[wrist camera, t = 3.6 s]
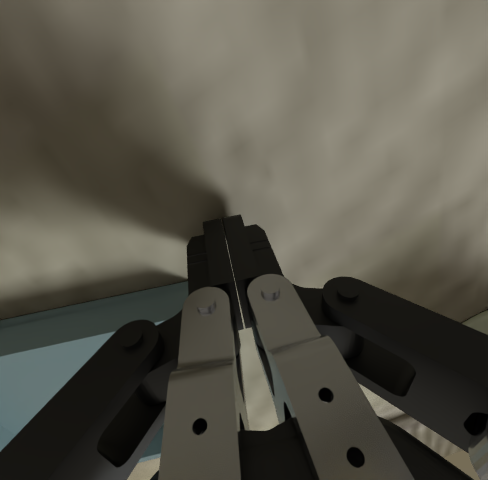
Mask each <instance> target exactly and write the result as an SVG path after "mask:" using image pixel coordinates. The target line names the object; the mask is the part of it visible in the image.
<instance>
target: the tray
mask: <svg viewBox="0 0 488 480" xmlns="http://www.w3.org/2000/svg"><path fill="white" fill-rule="evenodd" d="M187 297H188V281H186V282H181V283H176V284H172V285H167V286H162V287H157V288H152V289H148V290H143V291H138V292H133V293H129V294H124V295H119V296H114V297H110V298H105V299H100V300H95V301H91V302H86V303H81V304H76V305H71V306H67V307H62V308H57V309H52V310H48V311H43V312H38V313H33V314H29V315H24V316H19V317H14V318H9V319H5V320H0V451H1V450H2V449H3V448H4V447H5V446H6V445H7V444H8V443H9V442H10V441H11V440H12V439H13V438H14V437H15V436H16V435H17V434H18V433H19V432H20V431H21V430H22V429H23V427H24V426H25V425H26V424H27V423H28V422H29V421H30V420H31V419H32V418H33V417H34V416H35V415H36V414H37V413H38V412H39V411H40V410H41V409H42V408H43V407H44V406H45V405H46V404H47V402H48V401H49V400H50V399H51V398H52V397H53V396H54V395H55V394H56V393H57V392H58V391H59V390H60V389H61V388H62V387H63V386H64V385H65V384H66V383H67V382H68V381H69V380H70V379H71V377H72V376H73V375H74V374H75V373H76V372H77V371H78V370H79V369H80V368H81V367H82V366H83V365H84V364H85V363H86V362H87V361H88V360H89V359H90V358H91V357H92V356H93V355H94V354H95V353H96V351H97V350H98V349H99V348H100V347H101V346H102V345H103V344H104V343H105V342H106V341H107V340H108V339H109V338H110V337H111V336H112V335H113V334H114V333H115V332H116V331H117V330H118V329H119V328H120V327H122V326H123V325H125V324H127V323H129V322H131V321H135V320H141V319H144V320H149V321H151V322H153V323H154V324H155V325H158V324H160V323H162V322H164V321H166V320H168V319H170V318H172V317H173V316H175V315H176V314H178V313H179V312H180V311H181V310H182V308H183V304H184V301H185V300H186V298H187ZM163 428H164V423H163V424H162V426H161V427H160V429H159V431H158V432H157V434H156V435H155V437H154V438H153V440H152V441H151V443H150V444H149V446H148V448H147V449H146V451H145V452H144V454H143V455H142V457H141V458H140V460H139V461H138V463H139V462H143V461H147V460H151V459H155V458H159V457H161V447H162V438H163Z"/></svg>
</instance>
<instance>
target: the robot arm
mask: <svg viewBox="0 0 488 480" xmlns="http://www.w3.org/2000/svg"><path fill="white" fill-rule="evenodd" d="M223 223H224V229H225V234H226V239H227V244H228V249H227V244H226V240H225V235H224V231H223V226H222V221H221V219H216V220H211V221H205V222H203V229H204V235H200V236H195V237H192V238H191V240H190V241H189V243H188V245H187V264H188V265H187V269H188V297H187V298H186V300H185V301H184V304H183V308H182V310H181V311H180V312H179V313H178V314H176V315H175V316H173V317H172V318H170V319H168V320H166V321H164V322H162V323H160V324H158V325H155V324H154V323H153V322H151V321H149V320H144V319H141V320H135V321H131V322H129V323H127V324H125V325H123V326H122V327H120V328H119V329H118V330H117V331H116V332H115V333H114V334H113V335H112V336H111V337H110V338H109V339H108V340H107V341H106V342H105V343H104V344H103V345H102V346H101V347H100V348H99V349H98V350H97V351H96V353H95V354H94V355H93V356H92V357H91V358H90V359H89V360H88V361H87V362H86V363H85V364H84V365H83V366H82V367H81V368H80V369H79V370H78V371H77V372H76V373H75V374H74V375H73V376H72V377H71V379H70V380H69V381H68V382H67V383H66V384H65V385H64V386H63V387H62V388H61V389H60V390H59V391H58V392H57V393H56V394H55V395H54V396H53V397H52V398H51V399H50V400H49V401H48V402H47V404H46V405H45V406H44V407H43V408H42V409H41V410H40V411H39V412H38V413H37V414H36V415H35V416H34V417H33V418H32V419H31V420H30V421H29V422H28V423H27V424H26V425H25V426H24V427H23V429H22V430H21V431H20V432H19V433H18V434H17V435H16V436H15V437H14V438H13V439H12V440H11V441H10V442H9V443H8V444H7V445H6V446H5V447H4V448H3V449H2V450H1V451H0V480H127V478H128V477H129V475H130V474H131V472H132V471H133V469H134V468H135V466H136V465H137V463H138V461H139V460H140V458H141V457H142V455H143V454H144V452H145V451H146V449H147V448H148V446H149V444H150V443H151V441H152V440H153V438H154V437H155V435H156V434H157V432H158V431H159V429H160V427H161V426H162V424H163V423H164V428H163V438H162V447H161V457H160V466H159V470H158V471H157V472H156V473H155V475H154V476H153V477H152V478H151V479H150V480H474V479H472V478H471V477H469V476H468V475H467V474H465V473H464V472H462V471H461V470H460V469H458V468H457V467H455V466H454V465H453V464H451V463H450V462H448V461H447V460H445V459H444V458H443V457H441V456H440V455H439V454H437V453H436V452H434V451H433V450H432V449H430V448H429V447H427V446H426V445H425V444H423V443H422V442H420V441H419V440H418V439H416V438H415V437H413V436H412V435H411V434H409V433H408V432H406V431H405V430H403V429H402V428H400V427H399V426H397V425H395V424H393V423H392V422H390V421H388V420H386V419H383V418H381V417H379V416H377V415H376V413H375V411H374V410H373V408H372V406H371V405H370V403H369V401H368V399H367V398H366V396H365V394H364V393H363V391H362V389H361V388H360V386H359V384H361V385H363V386H364V387H366V388H367V389H369V390H370V391H372V392H374V393H375V394H377V395H378V396H380V397H381V398H383V399H384V400H386V401H388V402H389V403H391V404H392V405H394V406H395V407H397V408H399V409H400V410H402V411H403V412H405V413H406V414H408V415H409V416H411V417H413V418H414V419H416V420H417V421H419V422H420V423H422V424H424V425H425V426H427V427H428V428H430V429H431V430H433V431H434V432H436V433H438V434H439V435H441V436H442V437H444V438H445V439H447V440H449V441H450V442H452V443H453V444H455V445H456V446H458V447H459V448H461V449H463V450H464V451H466V452H467V453H469V457H470V460H471V463H472V465H473V467H474V469H475V471H476V472H477V474H478V476H479V478H480V480H488V335H487V334H485V333H482V332H480V331H478V330H475V329H473V328H471V327H468V326H466V325H464V324H461V323H459V322H457V321H454V320H452V319H450V318H447V317H445V316H443V315H440V314H438V313H435V312H433V311H431V310H428V309H426V308H424V307H421V306H419V305H417V304H414V303H412V302H410V301H407V300H405V299H403V298H400V297H398V296H396V295H393V294H391V293H389V292H386V291H384V290H382V289H379V288H377V287H375V286H372V285H370V284H368V283H365V282H363V281H361V280H358V279H355V278H352V277H336V278H333V279H331V280H329V281H328V282H327V283H326V284H325V285H324V287H323V289H316V288H303V287H299V286H296V285H294V284H292V283H291V282H290V281H289V280H288V279H287V278H285V277H284V275H283V274H282V271H281V269H280V266H279V264H278V262H277V259H276V257H275V255H274V252H273V250H272V248H271V245H270V243H269V241H268V238H267V236H266V233H265V231H264V230H263V229H262V228H260V227H259V226H258V225H256V224H255V225H250V226H244V223H243V220H242V217H241V215H236V216H231V217H226V218H223ZM228 250H229V253H228ZM229 255H230V258H229ZM230 260H231V263H230ZM231 264H232V267H231ZM232 269H233V272H232ZM233 273H234V276H233ZM234 278H235V281H234ZM235 282H236V286H235ZM236 287H237V291H238V296H239V300H240V305H241V309H242V314H243V318H244V323H245V327H246V328H250V327H252V330H253V334H254V339H255V345H256V350H257V353H258V356H259V359H260V362H261V365H262V368H263V371H264V374H265V377H266V380H267V383H268V386H269V389H270V392H271V395H272V398H273V402H274V405H275V409H276V413H277V417H278V421H279V425H277V426H276V427H274V428H272V429H270V430H268V431H251V430H250V429H249V422H248V416H247V409H246V400H245V390H244V381H243V371H242V362H241V353H240V346H241V344H240V338H239V332H238V330H242V329H244V328H243V323H242V318H241V312H240V307H239V302H238V297H237V291H236ZM358 383H359V384H358Z"/></svg>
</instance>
